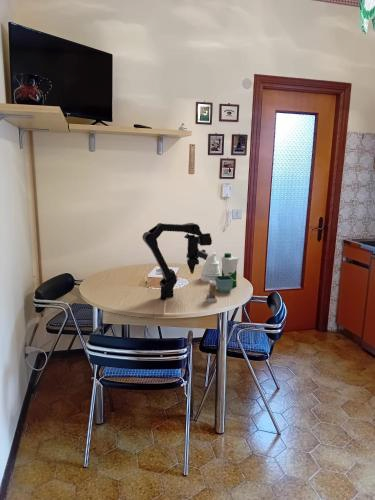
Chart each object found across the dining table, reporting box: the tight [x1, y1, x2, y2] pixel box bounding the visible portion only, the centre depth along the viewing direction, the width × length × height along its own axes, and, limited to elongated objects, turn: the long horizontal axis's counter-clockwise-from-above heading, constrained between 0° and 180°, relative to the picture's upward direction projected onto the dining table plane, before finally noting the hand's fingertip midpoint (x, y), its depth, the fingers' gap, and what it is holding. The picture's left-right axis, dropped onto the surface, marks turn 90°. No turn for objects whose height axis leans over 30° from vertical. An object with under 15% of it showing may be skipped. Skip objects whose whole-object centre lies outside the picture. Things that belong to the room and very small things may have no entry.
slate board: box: [206, 293, 218, 303], centre depth 205 cm, size 17×10×3 cm, turn 92°
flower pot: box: [215, 275, 233, 293], centre depth 221 cm, size 9×9×9 cm
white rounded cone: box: [200, 252, 222, 283], centre depth 247 cm, size 13×13×18 cm
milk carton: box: [220, 252, 239, 288], centre depth 233 cm, size 9×9×20 cm
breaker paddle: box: [208, 281, 217, 298], centre depth 203 cm, size 3×5×10 cm, turn 2°
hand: (192, 273), depth 211 cm, fingers closed
